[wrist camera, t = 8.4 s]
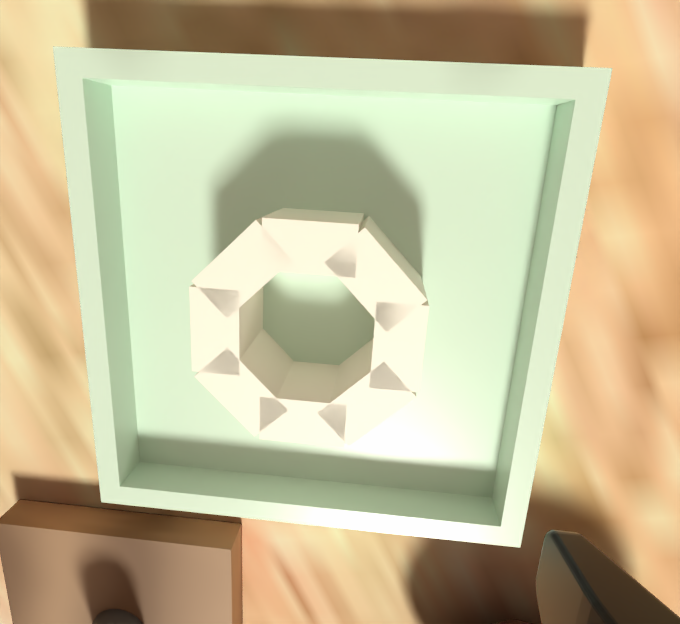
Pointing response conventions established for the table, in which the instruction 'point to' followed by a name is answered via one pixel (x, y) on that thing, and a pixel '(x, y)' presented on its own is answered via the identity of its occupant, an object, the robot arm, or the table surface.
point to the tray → (320, 290)
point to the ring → (274, 363)
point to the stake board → (119, 566)
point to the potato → (513, 622)
